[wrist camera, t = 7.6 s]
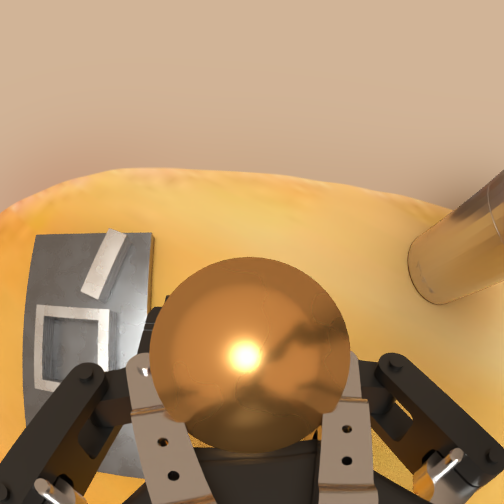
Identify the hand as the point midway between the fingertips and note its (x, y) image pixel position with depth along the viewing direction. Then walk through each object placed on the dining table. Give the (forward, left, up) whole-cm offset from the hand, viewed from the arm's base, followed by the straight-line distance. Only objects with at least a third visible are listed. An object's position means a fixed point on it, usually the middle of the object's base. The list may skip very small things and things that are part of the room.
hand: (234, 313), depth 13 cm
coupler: (+1, +2, -4) cm, 5 cm away
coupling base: (+14, -4, -16) cm, 21 cm away
